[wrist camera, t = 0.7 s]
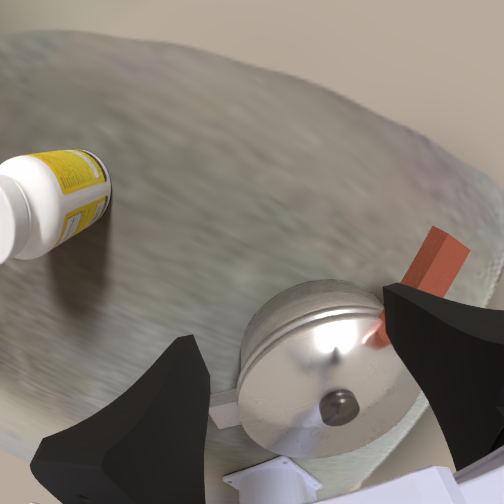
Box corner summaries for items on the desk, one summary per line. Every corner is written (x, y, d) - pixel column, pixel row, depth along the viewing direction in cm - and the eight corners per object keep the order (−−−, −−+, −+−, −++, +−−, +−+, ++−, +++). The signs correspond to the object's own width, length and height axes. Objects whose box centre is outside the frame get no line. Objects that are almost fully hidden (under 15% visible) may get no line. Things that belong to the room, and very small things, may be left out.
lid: (351, 459, 22) (355, 475, 20) (208, 428, 20) (206, 447, 18) (495, 274, 17) (512, 284, 15) (356, 177, 15) (370, 181, 13)
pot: (242, 427, 27) (243, 469, 22) (182, 316, 23) (170, 358, 18) (441, 357, 25) (467, 389, 20) (434, 231, 21) (474, 252, 17)
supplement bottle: (47, 151, 19) (-52, 165, 9) (113, 147, 19) (24, 155, 10) (49, 225, 20) (-40, 275, 11) (113, 228, 21) (35, 287, 11)
